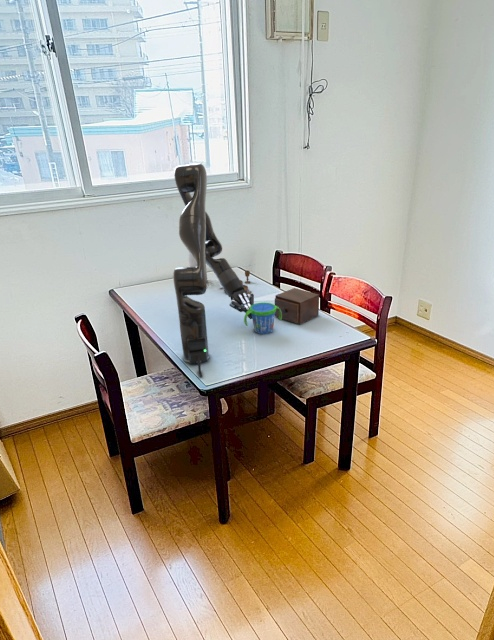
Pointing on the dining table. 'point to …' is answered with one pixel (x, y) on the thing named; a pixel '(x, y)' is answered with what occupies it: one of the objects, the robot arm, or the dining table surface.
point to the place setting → (245, 282)
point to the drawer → (287, 310)
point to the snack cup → (262, 317)
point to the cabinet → (302, 303)
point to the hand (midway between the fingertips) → (253, 317)
